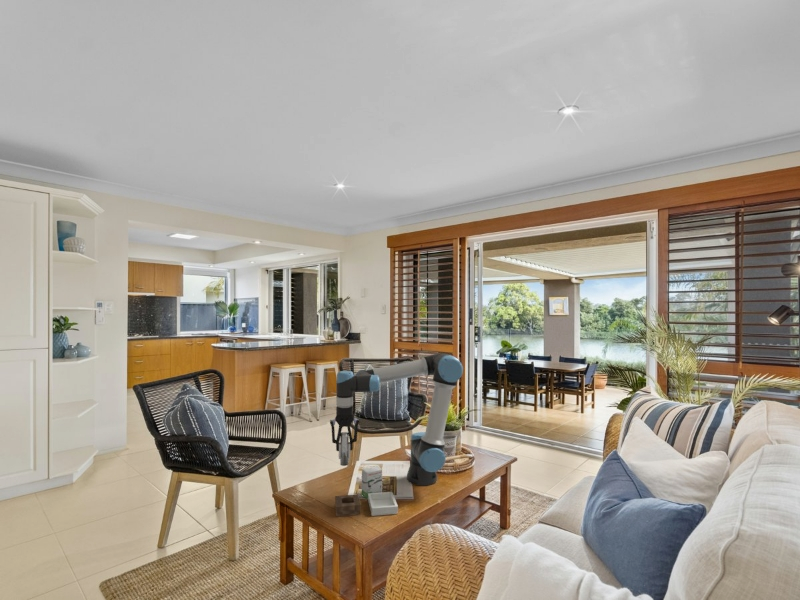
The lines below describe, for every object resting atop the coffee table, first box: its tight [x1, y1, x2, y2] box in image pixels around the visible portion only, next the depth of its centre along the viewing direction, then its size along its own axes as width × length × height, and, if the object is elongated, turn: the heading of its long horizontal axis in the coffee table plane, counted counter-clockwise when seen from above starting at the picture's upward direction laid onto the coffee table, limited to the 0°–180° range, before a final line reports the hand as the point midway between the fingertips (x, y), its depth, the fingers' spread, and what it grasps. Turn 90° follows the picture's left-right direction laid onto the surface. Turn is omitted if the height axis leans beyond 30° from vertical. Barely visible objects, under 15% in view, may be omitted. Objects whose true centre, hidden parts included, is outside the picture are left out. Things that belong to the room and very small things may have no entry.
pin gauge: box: [339, 431, 350, 467], centre depth 191 cm, size 4×4×14 cm
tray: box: [367, 491, 399, 517], centre depth 183 cm, size 11×14×3 cm
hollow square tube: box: [334, 493, 362, 517], centre depth 180 cm, size 10×10×4 cm
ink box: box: [361, 465, 383, 500], centre depth 195 cm, size 9×5×12 cm, turn 123°
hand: (344, 457), depth 191 cm, fingers closed on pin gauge, 4 cm apart
